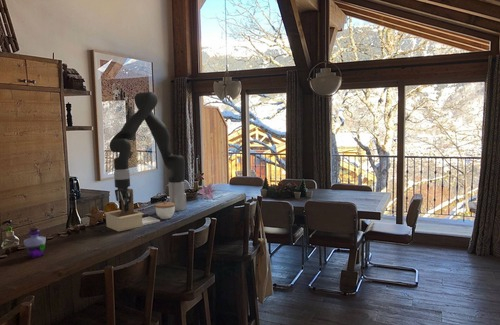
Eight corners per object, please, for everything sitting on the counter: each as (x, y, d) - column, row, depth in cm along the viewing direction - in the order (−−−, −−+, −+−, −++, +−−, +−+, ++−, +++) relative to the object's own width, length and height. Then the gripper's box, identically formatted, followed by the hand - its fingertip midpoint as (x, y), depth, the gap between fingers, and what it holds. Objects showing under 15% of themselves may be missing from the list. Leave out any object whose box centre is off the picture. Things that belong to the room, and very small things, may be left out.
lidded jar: (151, 219, 220) (150, 202, 219) (163, 214, 230) (163, 198, 229) (167, 220, 216) (166, 203, 215) (179, 216, 225) (178, 200, 224)
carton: (128, 221, 217) (127, 208, 216) (144, 226, 204) (144, 213, 203) (104, 225, 207) (103, 212, 207) (120, 232, 195) (119, 218, 194)
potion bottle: (42, 258, 159) (40, 229, 158) (20, 259, 158) (17, 230, 157) (51, 251, 167) (49, 223, 166) (30, 252, 167) (27, 224, 165)
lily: (194, 200, 275) (195, 189, 270) (202, 190, 285) (203, 180, 280) (210, 205, 273) (212, 195, 268) (217, 196, 282) (219, 185, 277)
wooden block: (121, 227, 201) (119, 191, 198) (115, 225, 203) (113, 191, 201) (134, 222, 208) (133, 188, 206) (128, 221, 211) (126, 188, 208)
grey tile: (149, 218, 222) (149, 216, 222) (160, 221, 214) (159, 219, 214) (132, 221, 215) (132, 219, 215) (143, 225, 207) (143, 223, 207)
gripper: (135, 178, 200) (137, 211, 202) (122, 175, 211) (124, 207, 213) (121, 180, 195) (123, 214, 197) (108, 177, 205) (110, 209, 207)
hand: (124, 210), depth 205 cm, fingers closed on wooden block, 4 cm apart
